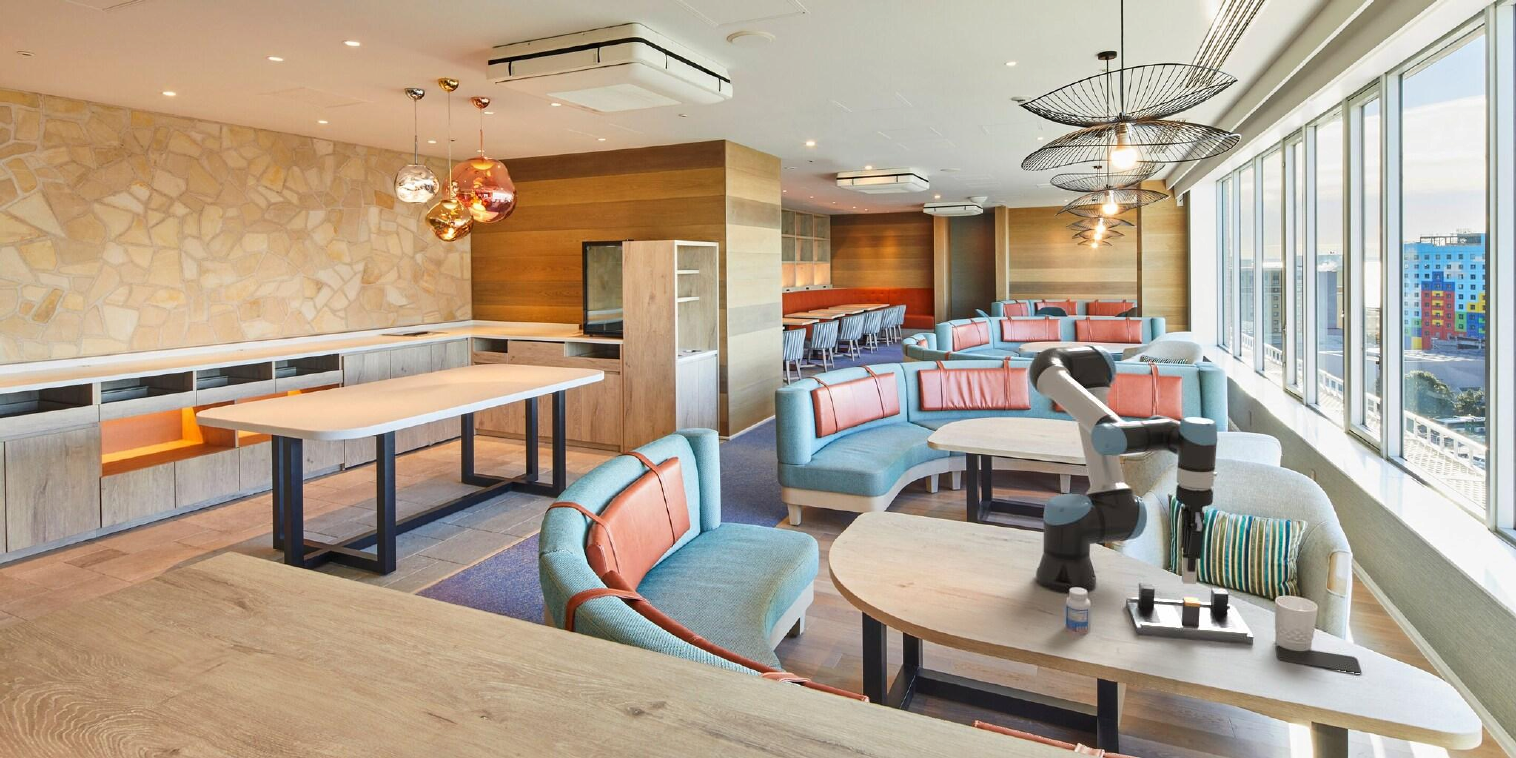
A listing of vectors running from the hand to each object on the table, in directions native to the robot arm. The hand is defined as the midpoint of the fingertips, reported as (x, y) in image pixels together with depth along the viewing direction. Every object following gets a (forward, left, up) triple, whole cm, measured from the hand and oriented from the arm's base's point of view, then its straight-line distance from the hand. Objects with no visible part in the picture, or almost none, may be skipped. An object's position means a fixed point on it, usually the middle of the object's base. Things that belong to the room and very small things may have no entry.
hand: (1188, 582), depth 192 cm
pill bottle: (-9, -24, -11) cm, 28 cm away
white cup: (+16, +14, -11) cm, 24 cm away
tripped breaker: (+2, -1, -9) cm, 9 cm away
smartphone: (+22, +13, -12) cm, 28 cm away
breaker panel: (-1, +1, -11) cm, 11 cm away
